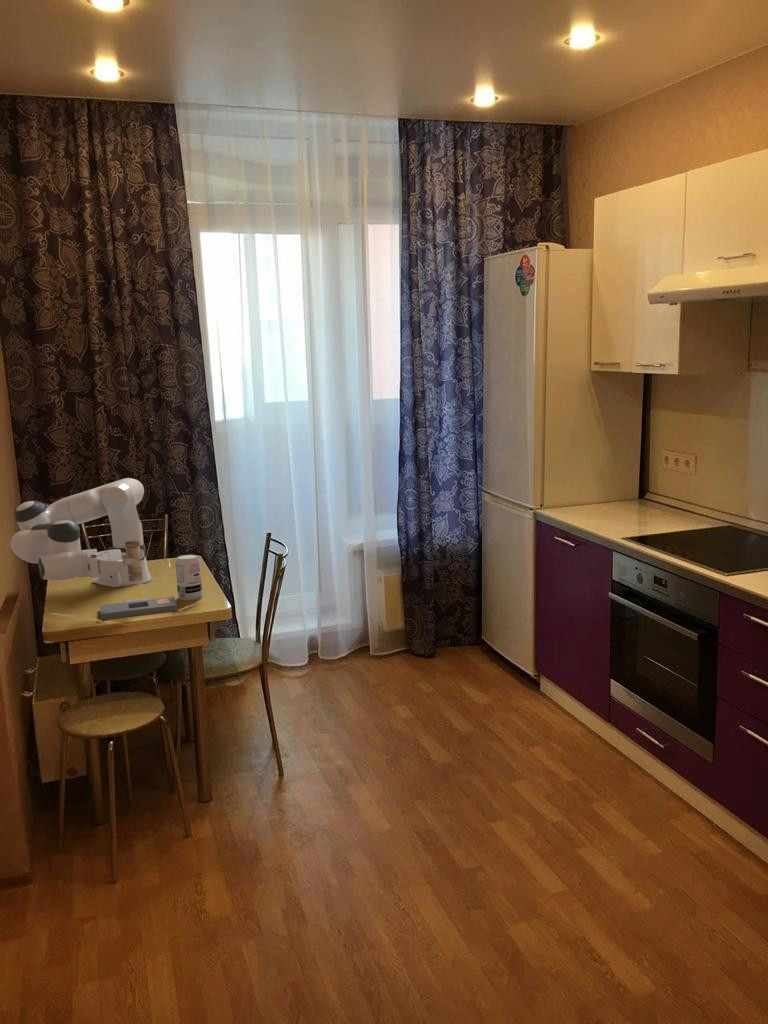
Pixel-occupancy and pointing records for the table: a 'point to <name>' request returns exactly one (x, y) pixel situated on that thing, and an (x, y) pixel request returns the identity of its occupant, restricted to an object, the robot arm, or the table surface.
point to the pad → (135, 599)
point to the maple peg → (136, 568)
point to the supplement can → (188, 577)
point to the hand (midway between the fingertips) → (136, 558)
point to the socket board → (138, 607)
